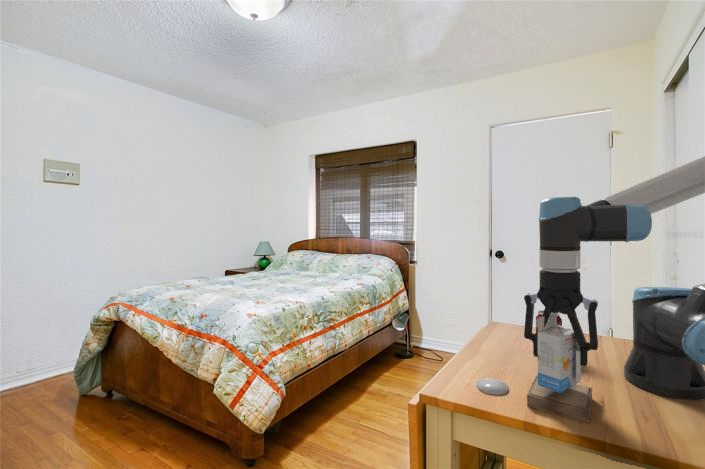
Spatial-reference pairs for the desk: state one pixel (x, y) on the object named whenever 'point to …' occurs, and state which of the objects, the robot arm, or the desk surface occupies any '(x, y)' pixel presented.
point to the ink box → (556, 355)
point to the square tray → (562, 401)
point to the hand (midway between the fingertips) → (559, 375)
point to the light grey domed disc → (492, 386)
